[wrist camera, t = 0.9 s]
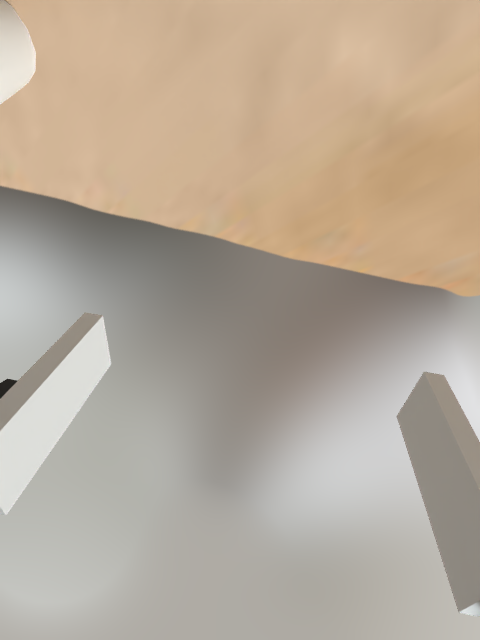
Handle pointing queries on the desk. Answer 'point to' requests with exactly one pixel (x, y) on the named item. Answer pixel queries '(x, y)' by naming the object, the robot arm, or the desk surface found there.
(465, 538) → the robot arm
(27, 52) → the foam cup
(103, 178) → the desk surface
